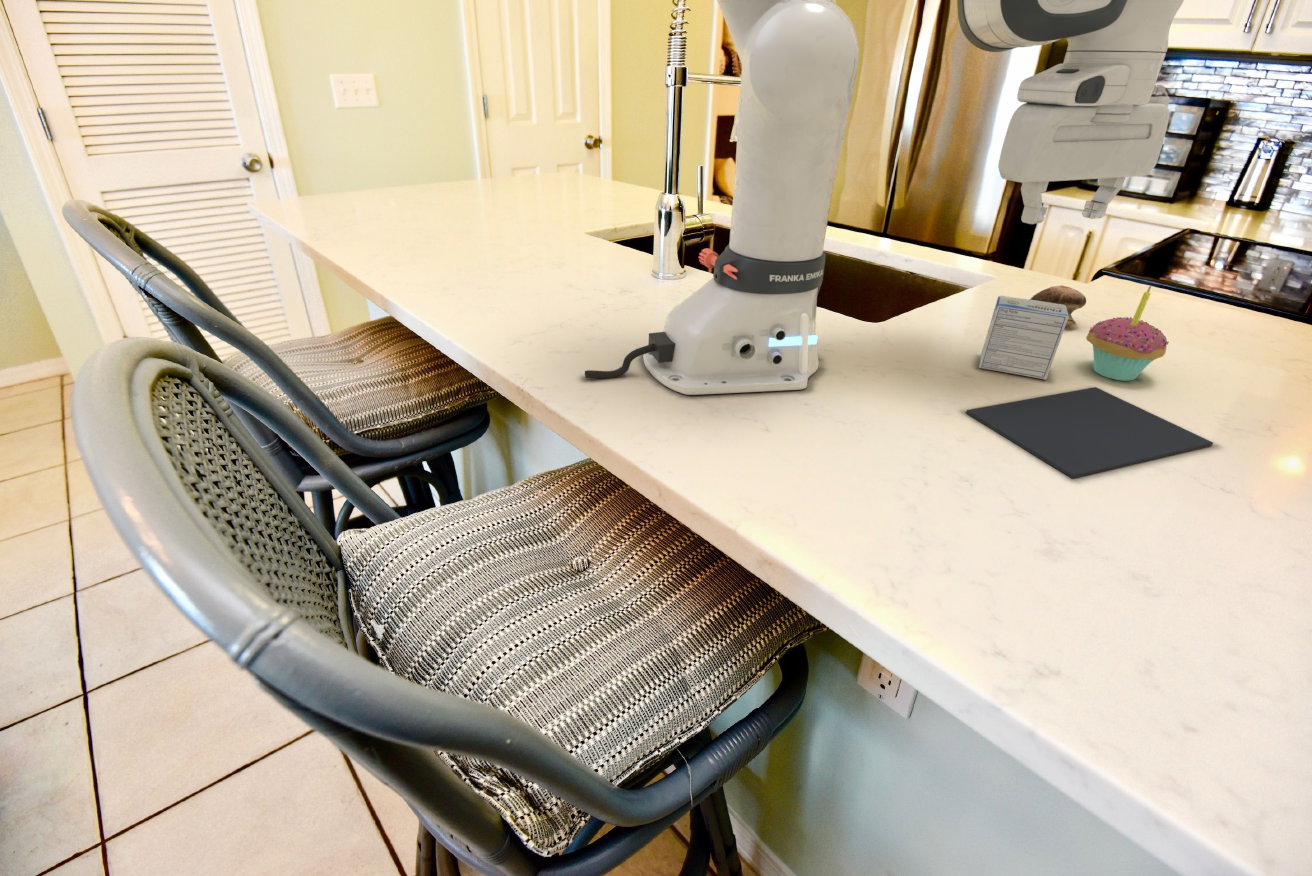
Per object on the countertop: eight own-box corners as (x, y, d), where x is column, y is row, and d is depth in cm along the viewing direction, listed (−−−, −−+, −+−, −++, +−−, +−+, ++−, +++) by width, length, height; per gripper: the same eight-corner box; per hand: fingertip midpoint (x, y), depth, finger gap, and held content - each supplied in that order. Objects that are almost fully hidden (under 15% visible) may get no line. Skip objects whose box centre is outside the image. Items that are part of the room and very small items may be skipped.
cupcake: (1152, 393, 81) (1196, 297, 75) (1073, 376, 84) (1108, 283, 78) (1151, 369, 87) (1190, 279, 81) (1077, 354, 91) (1110, 267, 85)
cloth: (1072, 478, 63) (1073, 475, 63) (965, 413, 75) (966, 409, 74) (1211, 445, 70) (1213, 442, 70) (1094, 389, 81) (1095, 386, 81)
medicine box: (1044, 368, 86) (1067, 304, 82) (1046, 381, 83) (1070, 315, 78) (979, 356, 89) (998, 294, 85) (978, 369, 85) (997, 304, 81)
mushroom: (1099, 315, 95) (1088, 274, 96) (1037, 330, 98) (1027, 290, 98) (1085, 325, 102) (1075, 286, 103) (1028, 339, 105) (1018, 301, 106)
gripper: (1145, 83, 75) (1102, 209, 82) (1007, 82, 69) (973, 219, 76) (1202, 85, 70) (1151, 220, 77) (1058, 85, 64) (1017, 232, 71)
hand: (1062, 220), depth 76 cm, fingers open, 8 cm apart
